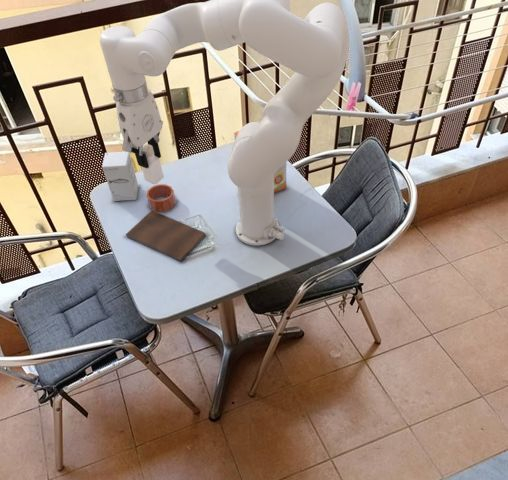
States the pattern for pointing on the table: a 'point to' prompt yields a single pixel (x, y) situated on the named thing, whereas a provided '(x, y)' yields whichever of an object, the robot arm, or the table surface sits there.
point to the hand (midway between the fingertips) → (149, 160)
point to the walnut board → (166, 235)
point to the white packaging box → (120, 175)
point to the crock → (161, 204)
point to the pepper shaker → (152, 166)
